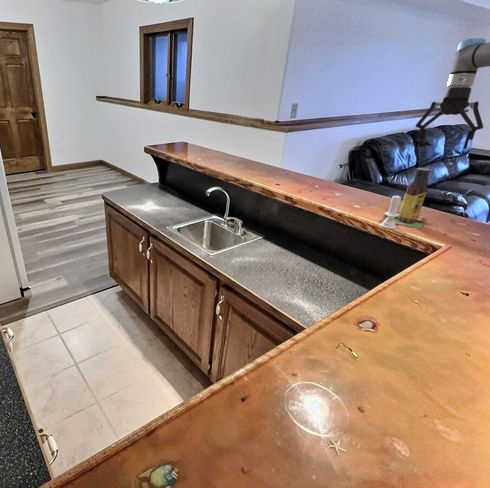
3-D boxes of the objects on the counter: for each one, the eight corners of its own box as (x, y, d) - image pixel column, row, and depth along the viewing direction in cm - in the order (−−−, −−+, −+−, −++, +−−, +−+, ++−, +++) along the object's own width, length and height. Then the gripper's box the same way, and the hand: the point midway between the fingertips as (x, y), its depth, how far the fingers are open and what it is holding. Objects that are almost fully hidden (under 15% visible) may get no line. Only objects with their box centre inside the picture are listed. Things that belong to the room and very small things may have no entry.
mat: (422, 220, 134) (423, 219, 134) (421, 229, 127) (421, 228, 127) (387, 214, 140) (387, 213, 140) (383, 221, 133) (383, 220, 133)
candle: (383, 222, 133) (391, 191, 127) (398, 226, 129) (408, 195, 124) (377, 225, 130) (386, 194, 124) (393, 230, 126) (403, 198, 121)
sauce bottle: (412, 225, 129) (430, 172, 120) (394, 220, 133) (410, 168, 125) (419, 221, 133) (436, 169, 124) (400, 216, 137) (416, 166, 128)
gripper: (417, 87, 131) (402, 145, 138) (506, 85, 118) (485, 150, 124) (418, 89, 137) (404, 145, 144) (502, 87, 123) (483, 149, 130)
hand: (441, 147), depth 134 cm, fingers open, 13 cm apart
